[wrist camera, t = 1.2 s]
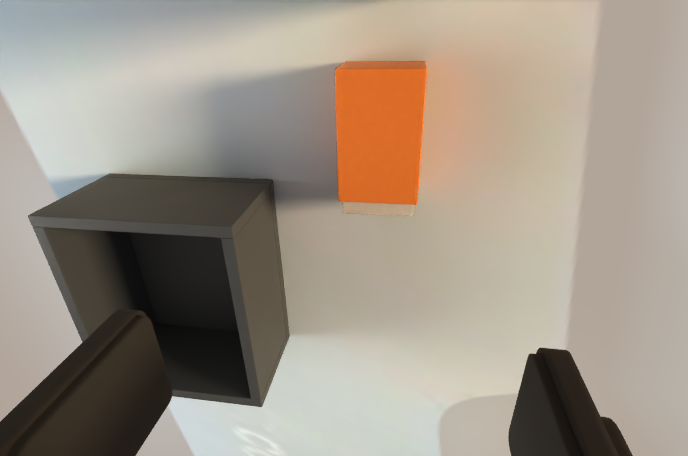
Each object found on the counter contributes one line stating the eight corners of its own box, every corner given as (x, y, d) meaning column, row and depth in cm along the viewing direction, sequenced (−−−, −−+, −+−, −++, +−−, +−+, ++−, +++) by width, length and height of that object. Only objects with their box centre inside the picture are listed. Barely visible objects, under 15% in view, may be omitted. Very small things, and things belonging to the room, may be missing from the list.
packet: (345, 61, 25) (334, 68, 22) (425, 61, 25) (427, 67, 21) (347, 192, 29) (338, 215, 26) (415, 195, 29) (416, 219, 25)
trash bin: (109, 173, 32) (27, 215, 25) (272, 179, 30) (231, 226, 23) (156, 323, 39) (102, 387, 32) (289, 336, 37) (262, 407, 30)
